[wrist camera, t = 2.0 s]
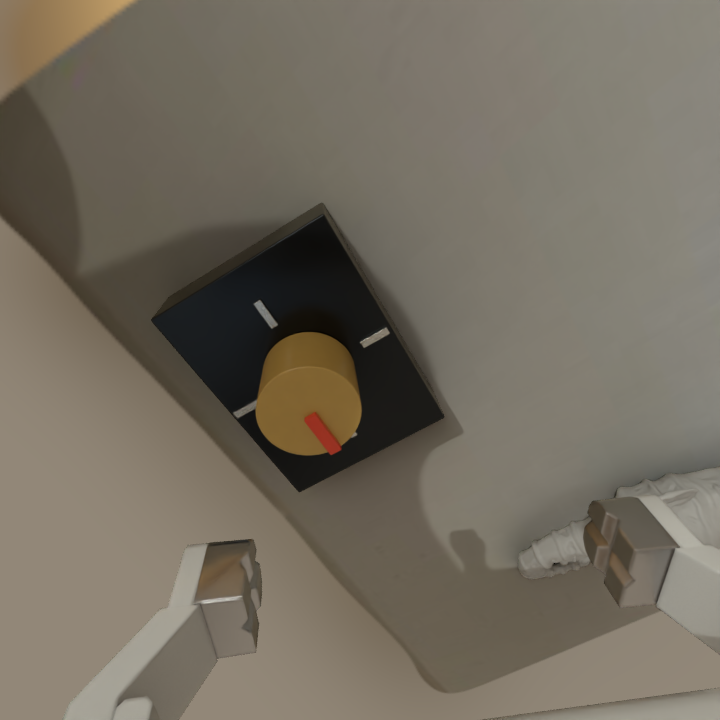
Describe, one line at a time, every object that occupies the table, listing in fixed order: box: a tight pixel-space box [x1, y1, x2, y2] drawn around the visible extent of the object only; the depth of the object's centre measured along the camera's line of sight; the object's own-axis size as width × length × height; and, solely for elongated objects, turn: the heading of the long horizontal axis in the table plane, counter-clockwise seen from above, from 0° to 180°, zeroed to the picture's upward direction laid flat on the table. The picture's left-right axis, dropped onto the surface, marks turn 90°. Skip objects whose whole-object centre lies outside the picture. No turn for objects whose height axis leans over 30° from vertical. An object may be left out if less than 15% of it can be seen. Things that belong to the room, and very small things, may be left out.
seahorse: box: [518, 466, 720, 579], centre depth 32 cm, size 5×12×20 cm
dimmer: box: [151, 203, 444, 492], centre depth 25 cm, size 12×9×3 cm
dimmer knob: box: [256, 332, 362, 455], centre depth 22 cm, size 4×4×4 cm
